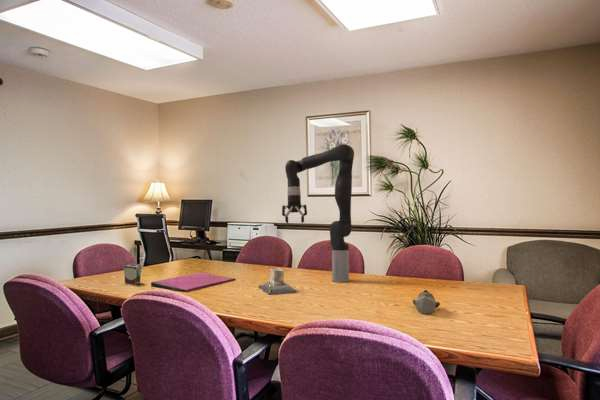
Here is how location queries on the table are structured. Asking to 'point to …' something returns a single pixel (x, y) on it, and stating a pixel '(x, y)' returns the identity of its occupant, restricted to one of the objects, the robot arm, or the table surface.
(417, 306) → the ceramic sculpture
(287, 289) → the fixture plate
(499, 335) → the table surface
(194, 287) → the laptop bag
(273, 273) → the birch block
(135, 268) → the food container
